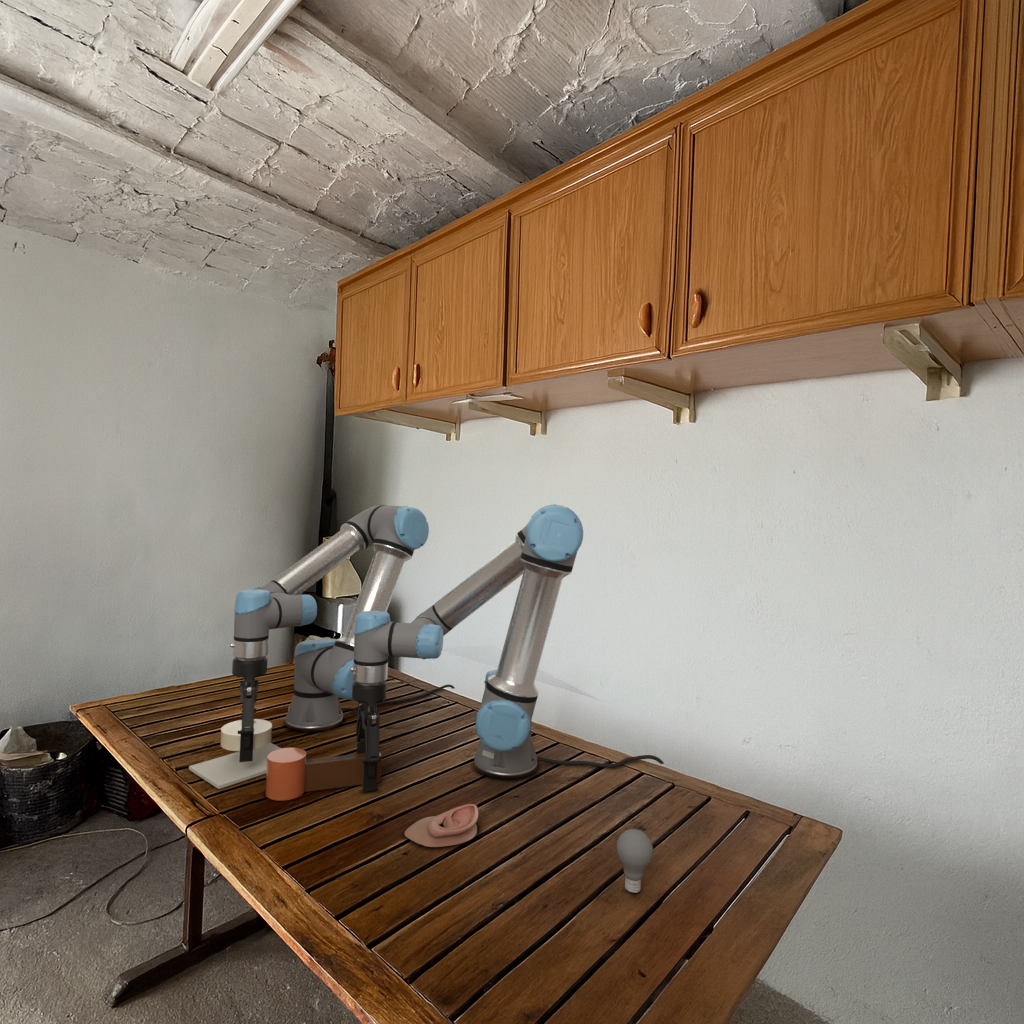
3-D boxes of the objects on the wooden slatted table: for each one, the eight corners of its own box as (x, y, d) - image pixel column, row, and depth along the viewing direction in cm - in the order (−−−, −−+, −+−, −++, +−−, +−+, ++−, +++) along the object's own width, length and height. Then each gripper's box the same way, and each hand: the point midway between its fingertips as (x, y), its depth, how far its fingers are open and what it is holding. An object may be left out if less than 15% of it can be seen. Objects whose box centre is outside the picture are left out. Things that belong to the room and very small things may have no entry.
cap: (256, 729, 155) (256, 715, 155) (280, 742, 148) (281, 727, 148) (211, 741, 146) (211, 726, 146) (235, 755, 139) (236, 739, 139)
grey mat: (269, 745, 159) (269, 742, 159) (301, 761, 151) (301, 758, 151) (188, 769, 144) (188, 766, 144) (218, 789, 135) (218, 785, 135)
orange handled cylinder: (265, 803, 130) (267, 764, 130) (265, 786, 137) (266, 749, 137) (382, 787, 139) (384, 751, 139) (376, 772, 147) (377, 738, 146)
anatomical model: (398, 821, 117) (420, 793, 128) (397, 842, 117) (419, 813, 128) (468, 831, 114) (483, 802, 126) (467, 853, 114) (482, 822, 126)
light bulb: (610, 879, 108) (613, 822, 108) (644, 879, 109) (647, 822, 109) (619, 902, 102) (622, 840, 102) (655, 901, 103) (658, 840, 103)
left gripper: (234, 646, 156) (230, 734, 157) (231, 671, 135) (226, 773, 135) (266, 645, 159) (262, 731, 159) (268, 669, 137) (264, 769, 138)
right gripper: (345, 669, 150) (342, 762, 151) (360, 697, 130) (356, 805, 130) (377, 667, 153) (373, 759, 153) (397, 694, 133) (392, 800, 133)
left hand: (246, 751), depth 147 cm, fingers closed on cap, 11 cm apart
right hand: (365, 780), depth 142 cm, fingers open, 9 cm apart
